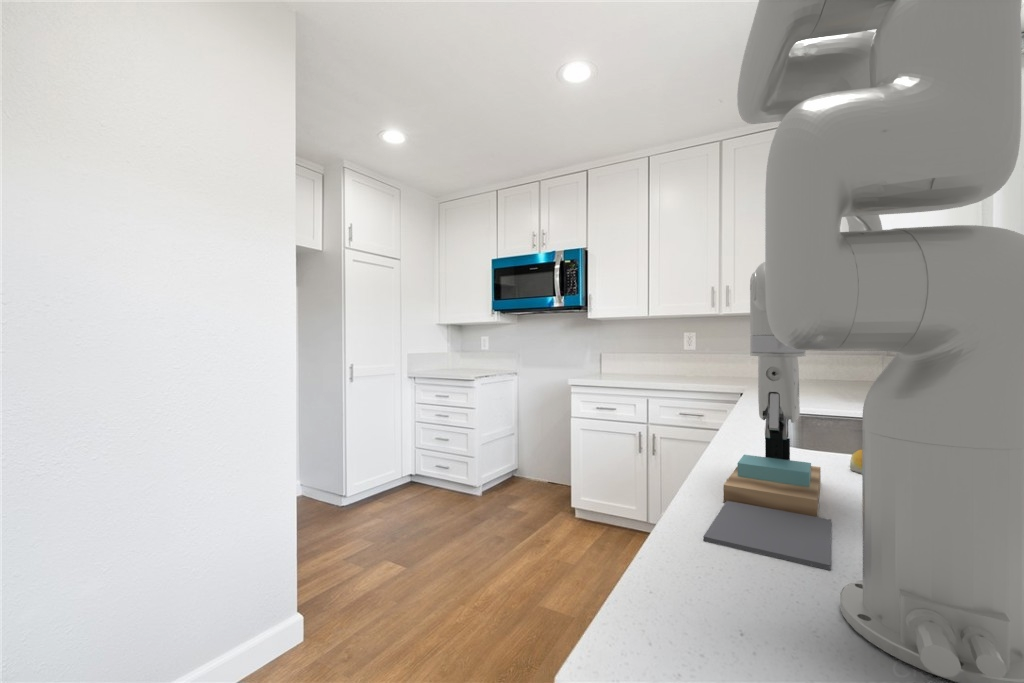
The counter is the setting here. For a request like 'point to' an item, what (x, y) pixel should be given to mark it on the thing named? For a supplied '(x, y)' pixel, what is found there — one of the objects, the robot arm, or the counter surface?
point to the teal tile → (775, 470)
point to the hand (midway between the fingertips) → (777, 463)
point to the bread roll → (856, 462)
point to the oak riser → (775, 493)
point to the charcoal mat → (773, 533)
